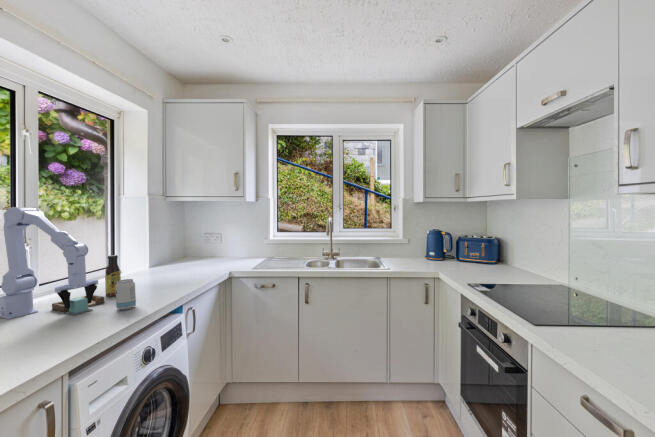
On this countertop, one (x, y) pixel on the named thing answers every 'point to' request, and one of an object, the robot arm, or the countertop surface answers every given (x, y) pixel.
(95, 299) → the parts box
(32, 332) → the countertop surface
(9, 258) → the robot arm
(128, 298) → the beverage can
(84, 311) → the rubber mat
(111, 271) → the sauce bottle
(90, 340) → the countertop surface
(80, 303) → the teal block
